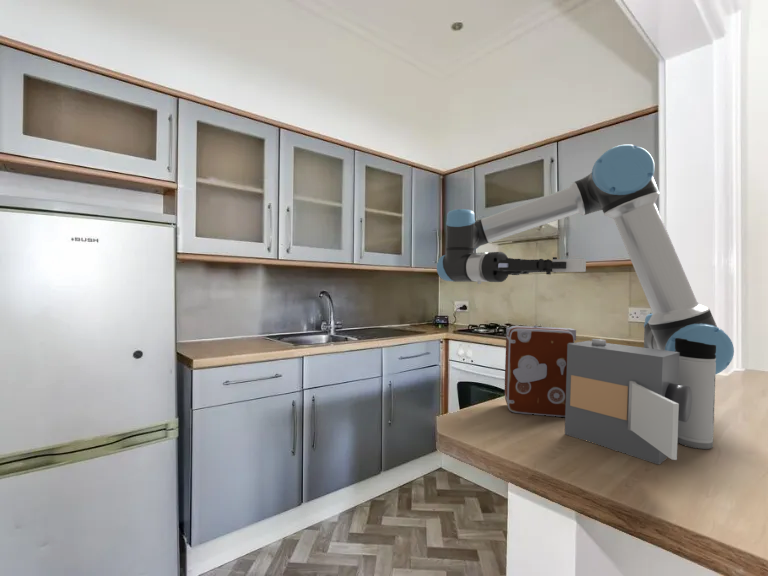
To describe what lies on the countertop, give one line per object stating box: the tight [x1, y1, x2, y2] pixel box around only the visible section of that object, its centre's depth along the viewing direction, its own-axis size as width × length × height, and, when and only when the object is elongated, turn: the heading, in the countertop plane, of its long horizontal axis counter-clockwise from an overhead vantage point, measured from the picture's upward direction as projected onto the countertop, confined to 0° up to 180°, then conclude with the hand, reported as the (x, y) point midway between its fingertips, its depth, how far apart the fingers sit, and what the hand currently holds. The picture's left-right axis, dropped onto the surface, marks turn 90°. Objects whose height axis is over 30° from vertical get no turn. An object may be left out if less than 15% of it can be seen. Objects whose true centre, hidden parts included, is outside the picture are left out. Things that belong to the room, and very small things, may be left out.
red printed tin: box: [504, 325, 577, 418], centre depth 91 cm, size 9×19×20 cm, turn 78°
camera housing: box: [564, 338, 692, 465], centre depth 73 cm, size 18×9×19 cm, turn 38°
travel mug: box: [675, 338, 717, 450], centre depth 75 cm, size 6×7×20 cm
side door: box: [628, 381, 679, 461], centre depth 62 cm, size 12×1×8 cm, turn 173°
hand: (584, 265), depth 81 cm, fingers closed
